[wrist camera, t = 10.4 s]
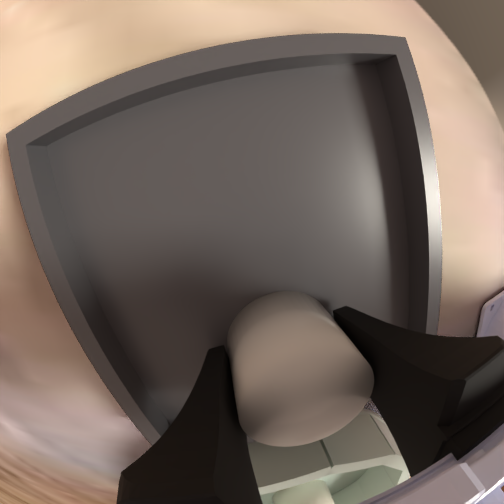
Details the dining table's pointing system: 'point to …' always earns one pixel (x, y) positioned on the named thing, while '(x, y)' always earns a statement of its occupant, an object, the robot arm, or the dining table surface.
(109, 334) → the tray
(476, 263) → the dining table surface
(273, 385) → the pebble
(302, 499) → the pebble
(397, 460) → the bowl
